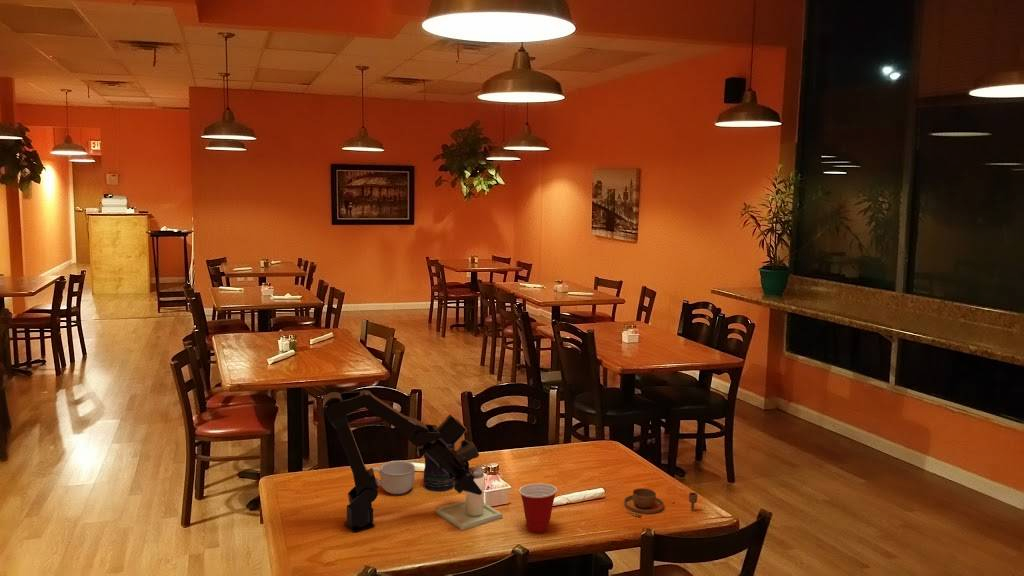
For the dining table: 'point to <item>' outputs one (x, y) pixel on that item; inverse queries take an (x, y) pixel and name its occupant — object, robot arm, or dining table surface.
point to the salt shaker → (474, 500)
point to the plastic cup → (538, 505)
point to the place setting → (650, 501)
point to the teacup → (396, 476)
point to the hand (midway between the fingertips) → (479, 489)
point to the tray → (467, 515)
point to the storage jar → (436, 475)
